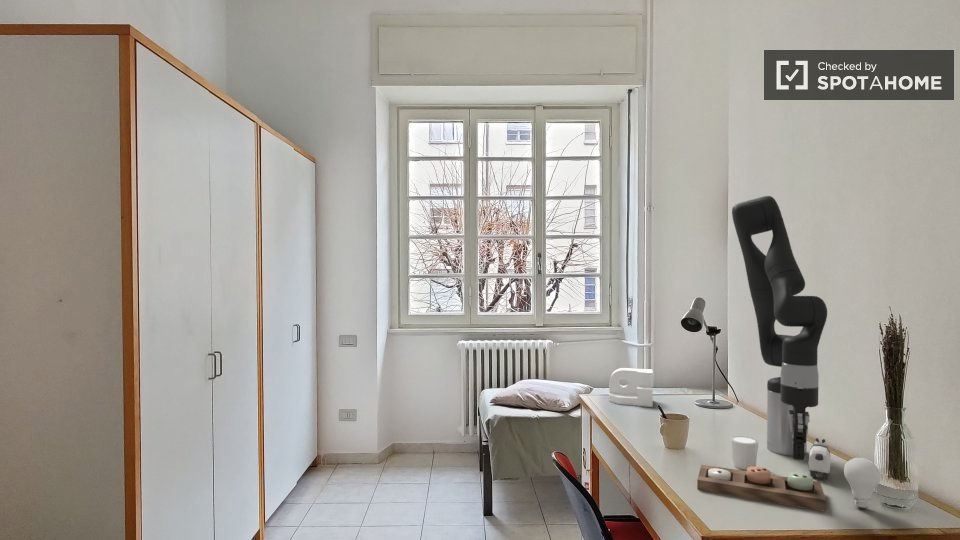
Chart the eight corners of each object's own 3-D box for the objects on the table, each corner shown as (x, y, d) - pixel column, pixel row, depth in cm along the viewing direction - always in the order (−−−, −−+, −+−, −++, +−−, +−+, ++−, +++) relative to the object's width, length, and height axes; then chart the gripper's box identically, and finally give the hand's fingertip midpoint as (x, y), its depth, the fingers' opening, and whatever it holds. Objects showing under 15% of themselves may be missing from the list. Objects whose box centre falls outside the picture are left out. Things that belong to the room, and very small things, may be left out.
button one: (731, 479, 138) (731, 469, 138) (730, 486, 133) (730, 476, 133) (709, 475, 140) (709, 466, 140) (707, 483, 135) (707, 473, 135)
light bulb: (836, 502, 127) (836, 453, 126) (864, 501, 127) (864, 452, 127) (858, 515, 120) (859, 464, 120) (887, 514, 121) (888, 463, 120)
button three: (770, 477, 134) (770, 467, 134) (770, 485, 129) (770, 474, 129) (746, 474, 136) (747, 464, 136) (746, 481, 132) (746, 471, 132)
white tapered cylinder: (746, 472, 145) (746, 445, 145) (724, 464, 151) (724, 438, 151) (764, 468, 148) (764, 441, 148) (741, 459, 154) (741, 434, 154)
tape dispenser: (652, 401, 218) (652, 369, 218) (652, 408, 208) (652, 374, 208) (610, 399, 223) (610, 367, 223) (608, 405, 213) (608, 372, 213)
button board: (820, 492, 132) (820, 482, 132) (825, 511, 122) (825, 499, 122) (701, 474, 143) (701, 464, 143) (697, 490, 134) (697, 479, 133)
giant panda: (830, 482, 138) (830, 449, 138) (808, 478, 141) (808, 446, 140) (830, 467, 148) (831, 436, 148) (810, 463, 151) (810, 433, 151)
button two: (811, 483, 130) (811, 473, 130) (813, 491, 126) (813, 481, 126) (787, 480, 132) (787, 470, 132) (788, 487, 128) (788, 477, 128)
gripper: (779, 376, 136) (779, 448, 136) (781, 387, 125) (780, 465, 125) (815, 379, 133) (815, 452, 133) (821, 390, 121) (820, 471, 121)
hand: (798, 458), depth 129 cm, fingers closed
